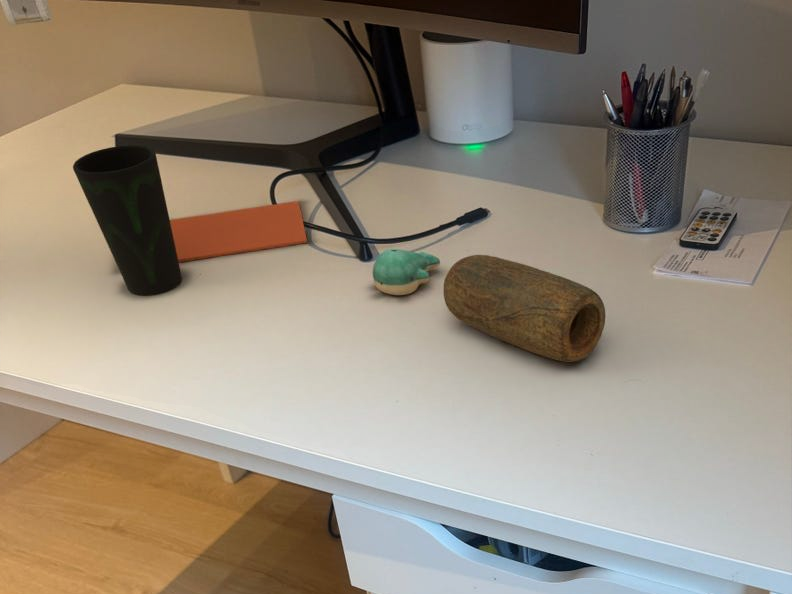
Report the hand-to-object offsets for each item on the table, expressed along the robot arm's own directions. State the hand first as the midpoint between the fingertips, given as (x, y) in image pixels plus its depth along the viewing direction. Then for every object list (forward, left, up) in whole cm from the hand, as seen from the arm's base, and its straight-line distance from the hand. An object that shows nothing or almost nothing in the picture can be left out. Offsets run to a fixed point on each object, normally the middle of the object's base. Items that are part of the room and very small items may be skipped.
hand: (31, 21), depth 68 cm
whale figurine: (+26, +2, -25) cm, 36 cm away
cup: (+1, +11, -25) cm, 28 cm away
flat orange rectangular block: (+7, +22, -25) cm, 34 cm away
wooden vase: (+34, -13, -25) cm, 44 cm away
